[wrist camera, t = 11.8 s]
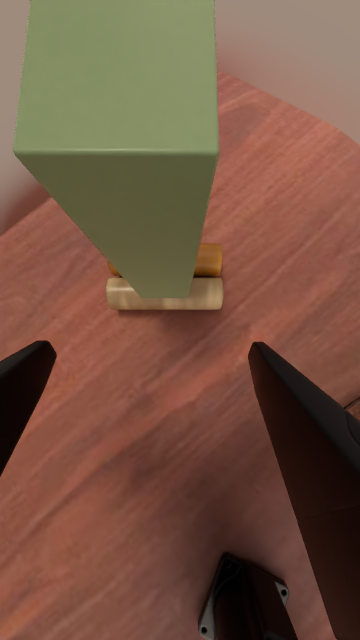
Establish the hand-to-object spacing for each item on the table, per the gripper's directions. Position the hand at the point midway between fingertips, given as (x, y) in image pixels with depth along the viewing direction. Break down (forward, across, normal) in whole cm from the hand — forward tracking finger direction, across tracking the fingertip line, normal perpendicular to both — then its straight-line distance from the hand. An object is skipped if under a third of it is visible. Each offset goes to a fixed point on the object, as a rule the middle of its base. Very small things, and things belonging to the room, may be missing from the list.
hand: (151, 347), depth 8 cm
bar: (+11, 0, +1) cm, 11 cm away
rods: (+13, 0, +3) cm, 13 cm away
